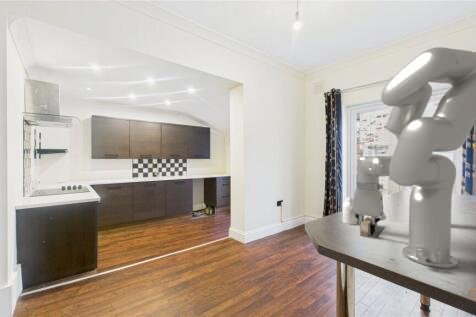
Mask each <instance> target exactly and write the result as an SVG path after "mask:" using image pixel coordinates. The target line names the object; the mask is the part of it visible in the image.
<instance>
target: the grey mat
mask: <svg viewBox="0 0 476 317" xmlns="http://www.w3.org/2000/svg"><path fill="white" fill-rule="evenodd" d="M377 237H378V239H381V240H385V241H391V242H396V243H400V244H404V245H409V223H404V222H397V221H392V220H389V221H388V222H387V224H386V226H385V227H384V228H383V230H382V231H381V232H380V233H379V235H378V236H377Z"/></svg>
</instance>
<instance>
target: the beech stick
mask: <svg viewBox="0 0 476 317" xmlns="http://www.w3.org/2000/svg"><path fill="white" fill-rule="evenodd" d="M376 218H378V217H376ZM370 224H371V216H367V217H364V220H363V221H362V222H361V223H360V222H359V230H360V231H359V235H360V237H364V238H368V237H369V236H370V235H371V234H370ZM377 227H378V222H377V223H375V229H376V228H377Z"/></svg>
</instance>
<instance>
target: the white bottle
mask: <svg viewBox="0 0 476 317" xmlns="http://www.w3.org/2000/svg"><path fill="white" fill-rule="evenodd" d="M353 201H354V198H352V197H350V196H348V197H346V199H345V201H344V203H343V204H342V216H343V219H342V223H344V224H346V223H347V224H346V225H357V224H358V222H357V218H356V217H355V216H353V215H352V214H350V212H351V210H352V209H353Z"/></svg>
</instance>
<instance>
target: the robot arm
mask: <svg viewBox="0 0 476 317" xmlns="http://www.w3.org/2000/svg"><path fill="white" fill-rule="evenodd" d="M430 83H435V84H448V85H451V87H450V89H448V90H447V91H446V92H445V93H444V95H443V96H442V97H441V98H440V100H439V102H438V104H437V106H436V109H435V111H434V114H433V115H432V116H423V115H424V113H425V110H426V109H427V106H428V105H429V102H430V99H431V97H432V96H433V95H432V94H433V87H432V86H431V84H430ZM380 97H381V102H382V103H383V104H384V105H386V106H389V107H392V109H391V112H390V114H389V117H388V119H387V123H386V125H385V129H386V130H387V131H389V133H392V134H394V136H395V137H396V140H397V144H396V146H395V149H394V151H393V153H392V155H377V156H376V155H374V156H371V155H369V156H368V155H367V156H359V157H358V158H357V162H356V164H357V167H356V168H357V172H356V174H357V176H356V178H357V179H356V180H357V181H356V182H357V183H356V186H357V187H356V188H355V189H354V190H355V191H354V195H353V200H354V201H353V209H352V210H351V212H350V214H352V215H353V216H355V217H356V218H357V219H358V220H359V222H358V223H359V224H360V223H361V222H362V221H363V220H364V219H365V216H367V217H368V216H371V224H370V235H373V234H374V233H375V232H376V228H375V223H377V224H378V223H379V222H381V221H385V220H386V219H387V216H386V213H385V212H384V201H383V193H382V190H383V189H384V185H382V184H380V177H390V179H391V180H392V182H394V183H395V184H397V185H399V186H401V187H411V188H412V189H411V192H410V194H409V203H408V204H409V205H408V207H409V210H408V212H409V213H408V215H409V216H408V218H409V219H408V224H409V244H408V246H404V247H403V248H402V254H403V255H404V256H405V257H406V258H408V259H410V260H412V261H413V262H416V263H418V264H421V265H425V266H429V267H433V268H438V269H454V268H457V267H459V266H458V265H459V264H458V263H459V262H458V259H457V258H456V257H454V256H452V255H451V249H452V248H451V244H452V242H451V240H452V239H451V236H452V234H451V232H452V201H453V200H452V197H453V196H452V195H453V190H454V185H455V182H456V179H457V178H456V177H457V168H456V165H455V163H454V162H453V161H452V160H451V158H448V157H447V156H445V155H442V154H437V153H442V152H443V153H445V152H452V151H456V150H458V149H460V148H461V147H462V146H464V144H465V143H466V140H467V139H468V137H469V135H470V133H471V131H472V128H473V127H474V124H475V122H476V52H474V51H470V50H465V49H458V48H457V49H456V48H448V47H442V46H441V47H440V46H439V47H438V46H437V47H436V46H435V47H431V48H429V49H426V50H424V51H423V52H421V53H419V54H418V55H417V56H415V58H413V59H412V60H411V61H410V62H408V63H407V65H405V66H403V68H402V69H400V71H398V72H397V73H396V74H395V75H394V76H393V77H391V79H390V80H389V81H388V82H387V83H386V85H385V86H384V87H383V89H382V91H381V96H380ZM435 152H437V153H435ZM376 217H377V218H376Z"/></svg>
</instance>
